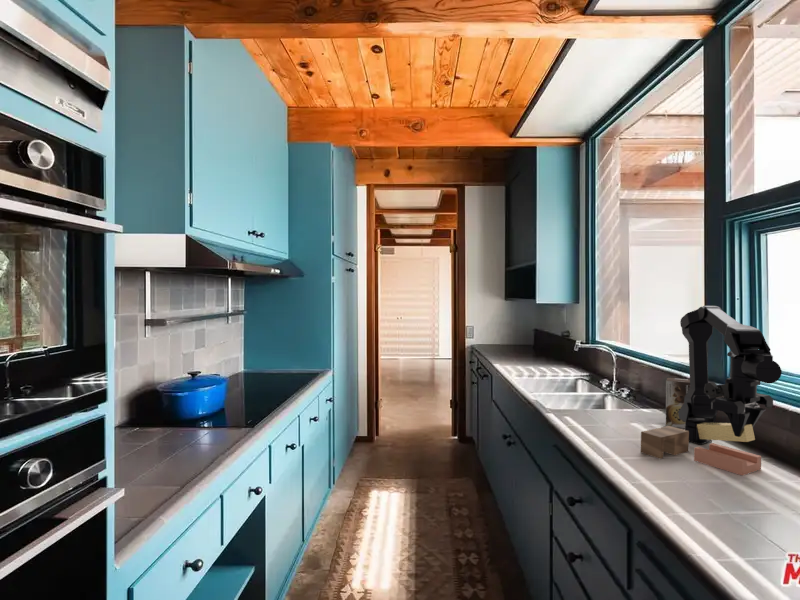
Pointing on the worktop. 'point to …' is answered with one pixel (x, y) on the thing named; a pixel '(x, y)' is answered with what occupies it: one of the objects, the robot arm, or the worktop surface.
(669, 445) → the walnut beam
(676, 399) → the product box
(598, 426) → the worktop surface
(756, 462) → the rust cradle
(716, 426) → the brass block
